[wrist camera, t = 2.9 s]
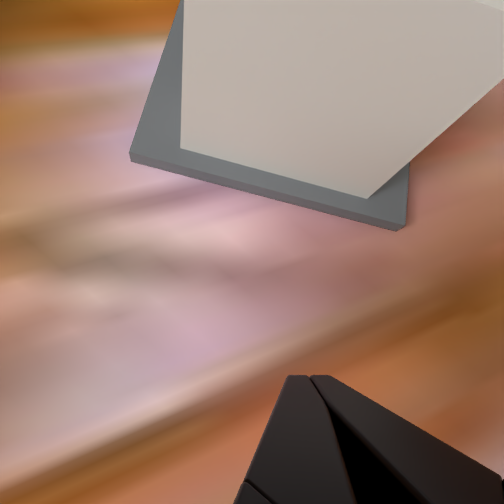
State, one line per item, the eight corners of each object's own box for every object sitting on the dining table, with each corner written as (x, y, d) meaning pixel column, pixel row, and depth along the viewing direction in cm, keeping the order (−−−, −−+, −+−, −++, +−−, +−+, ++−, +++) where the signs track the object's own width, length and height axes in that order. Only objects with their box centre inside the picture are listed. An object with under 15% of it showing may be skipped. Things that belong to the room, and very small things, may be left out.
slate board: (396, 231, 24) (405, 225, 23) (130, 161, 22) (129, 151, 21) (413, 12, 29) (421, 0, 28) (204, -59, 27) (205, -74, 26)
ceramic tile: (366, 199, 23) (558, 30, 11) (180, 148, 21) (186, -100, 10) (371, 154, 24) (552, -42, 12) (193, 102, 22) (213, -170, 11)
